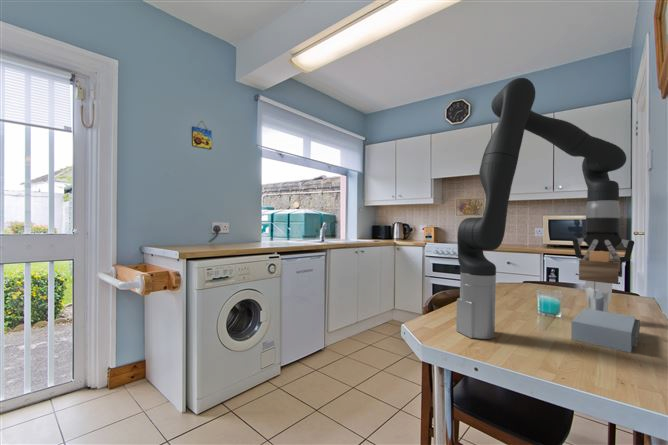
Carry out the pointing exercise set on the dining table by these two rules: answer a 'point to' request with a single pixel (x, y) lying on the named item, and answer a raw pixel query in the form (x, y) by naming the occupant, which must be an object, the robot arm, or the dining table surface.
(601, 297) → the beer glass
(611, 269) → the brown wooden box
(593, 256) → the orange cube
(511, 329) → the dining table surface
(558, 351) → the dining table surface
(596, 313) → the block
